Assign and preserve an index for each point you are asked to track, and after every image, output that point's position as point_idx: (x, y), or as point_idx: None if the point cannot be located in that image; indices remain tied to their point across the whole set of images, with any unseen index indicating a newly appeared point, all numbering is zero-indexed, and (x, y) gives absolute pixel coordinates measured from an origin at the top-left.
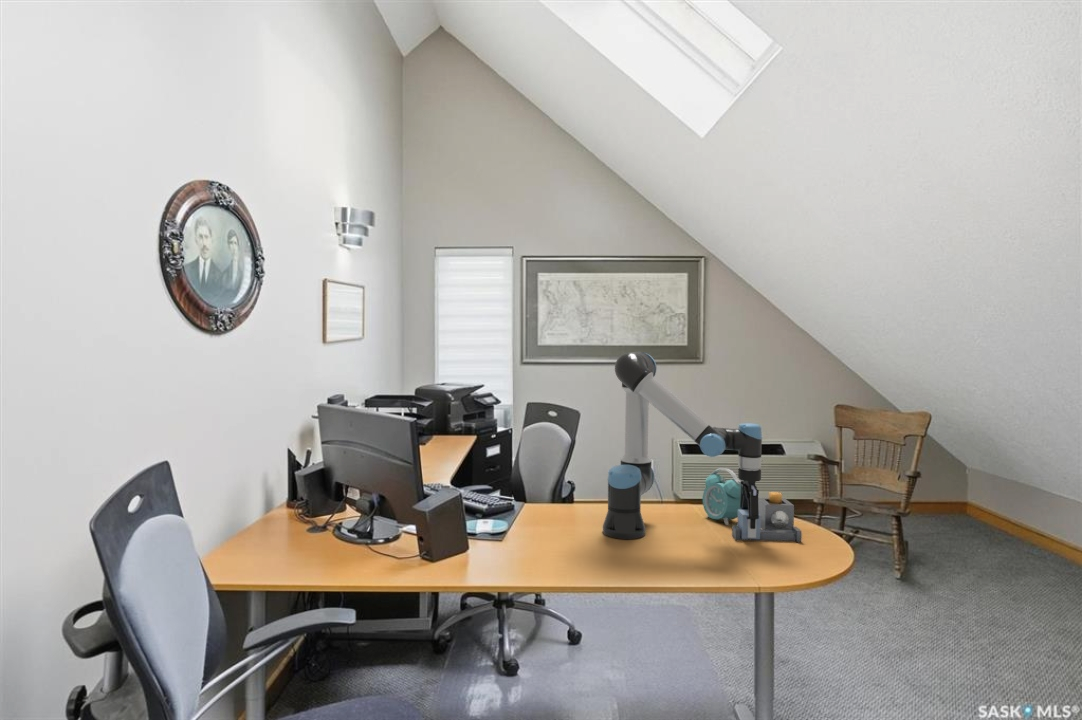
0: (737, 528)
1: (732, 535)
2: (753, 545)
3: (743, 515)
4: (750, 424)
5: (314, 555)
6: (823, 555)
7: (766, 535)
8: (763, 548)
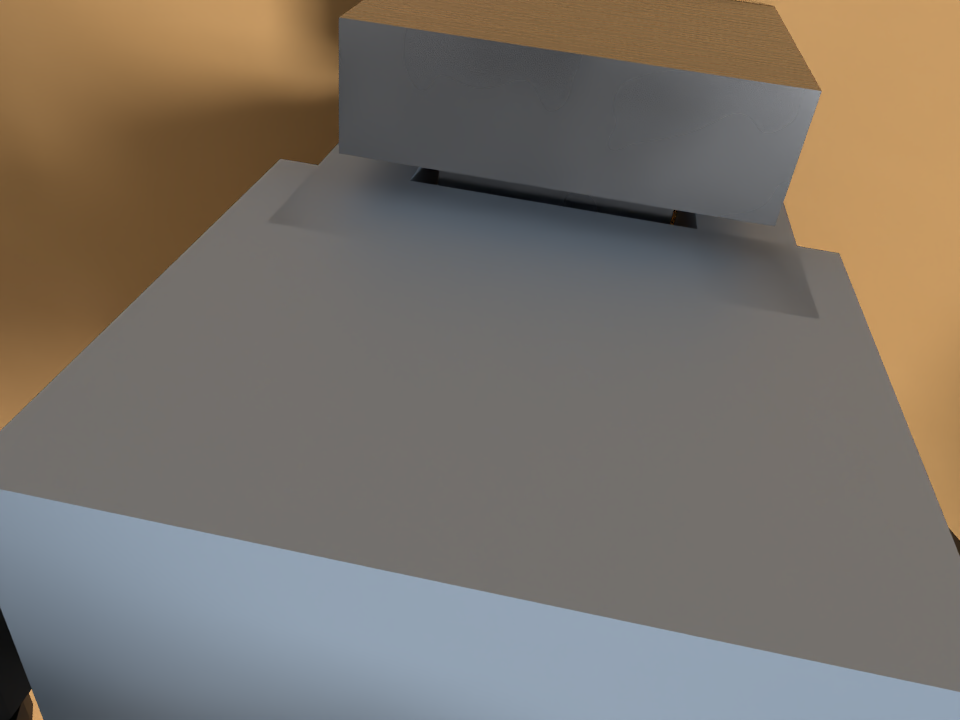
0: (431, 106)
1: (748, 7)
2: (191, 210)
3: None
4: None
5: None
6: (32, 715)
7: None
8: (77, 300)
